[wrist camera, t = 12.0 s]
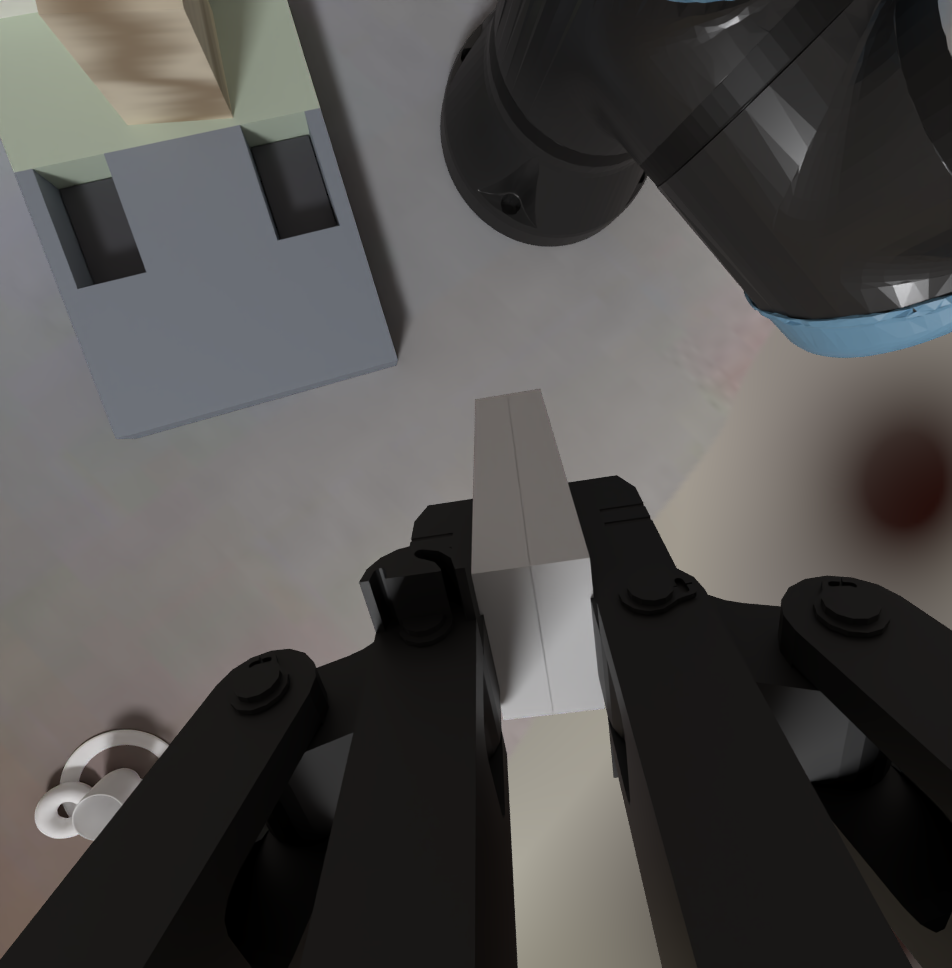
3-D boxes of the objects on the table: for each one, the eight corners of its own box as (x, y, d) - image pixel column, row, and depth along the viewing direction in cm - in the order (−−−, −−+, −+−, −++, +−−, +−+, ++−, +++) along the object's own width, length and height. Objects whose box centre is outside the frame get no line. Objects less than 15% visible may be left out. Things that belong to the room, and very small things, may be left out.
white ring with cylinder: (42, 829, 39) (4, 874, 35) (59, 719, 39) (23, 752, 35) (177, 837, 41) (156, 880, 37) (195, 731, 40) (175, 764, 36)
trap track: (396, 365, 40) (400, 350, 33) (136, 438, 38) (82, 439, 31) (280, -10, 37) (258, -111, 30) (-13, 43, 34) (-110, -54, 28)
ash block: (212, 12, 34) (154, -139, 25) (233, 118, 34) (183, 8, 26) (104, 16, 33) (4, -139, 24) (127, 125, 33) (38, 14, 25)
